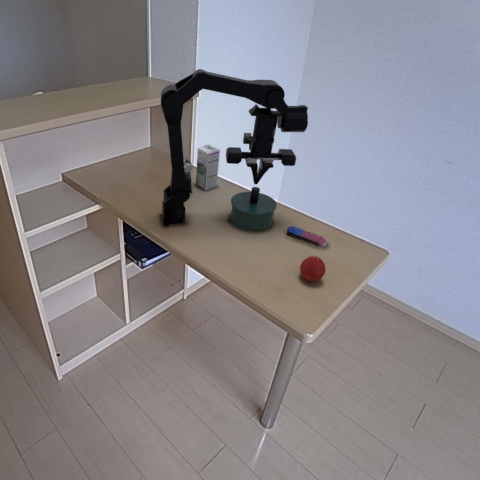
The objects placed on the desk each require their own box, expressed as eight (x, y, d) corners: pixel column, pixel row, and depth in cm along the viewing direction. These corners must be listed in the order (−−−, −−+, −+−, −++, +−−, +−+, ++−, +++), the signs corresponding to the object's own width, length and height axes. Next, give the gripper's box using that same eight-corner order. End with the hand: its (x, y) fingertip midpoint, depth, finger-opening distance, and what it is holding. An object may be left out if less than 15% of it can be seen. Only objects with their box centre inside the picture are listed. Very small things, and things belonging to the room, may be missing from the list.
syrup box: (217, 186, 135) (221, 148, 127) (204, 191, 132) (207, 152, 124) (207, 181, 139) (210, 143, 130) (194, 184, 136) (197, 147, 128)
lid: (239, 218, 106) (242, 201, 103) (224, 196, 117) (226, 180, 113) (283, 214, 108) (287, 197, 105) (264, 193, 119) (267, 177, 116)
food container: (188, 197, 128) (190, 171, 122) (171, 196, 129) (172, 169, 123) (193, 182, 138) (194, 157, 132) (177, 180, 139) (177, 155, 133)
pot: (238, 234, 110) (241, 216, 106) (224, 212, 120) (227, 195, 116) (278, 230, 111) (282, 212, 108) (261, 209, 122) (264, 192, 118)
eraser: (327, 243, 106) (329, 238, 105) (322, 250, 103) (324, 244, 102) (289, 229, 111) (291, 224, 110) (284, 235, 109) (285, 230, 108)
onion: (293, 273, 95) (300, 248, 90) (315, 272, 95) (323, 247, 91) (302, 288, 90) (310, 263, 86) (325, 287, 91) (334, 262, 86)
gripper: (293, 123, 106) (282, 173, 115) (227, 121, 107) (222, 171, 116) (302, 136, 96) (289, 190, 105) (230, 134, 98) (224, 187, 107)
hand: (255, 183), depth 109 cm, fingers closed
